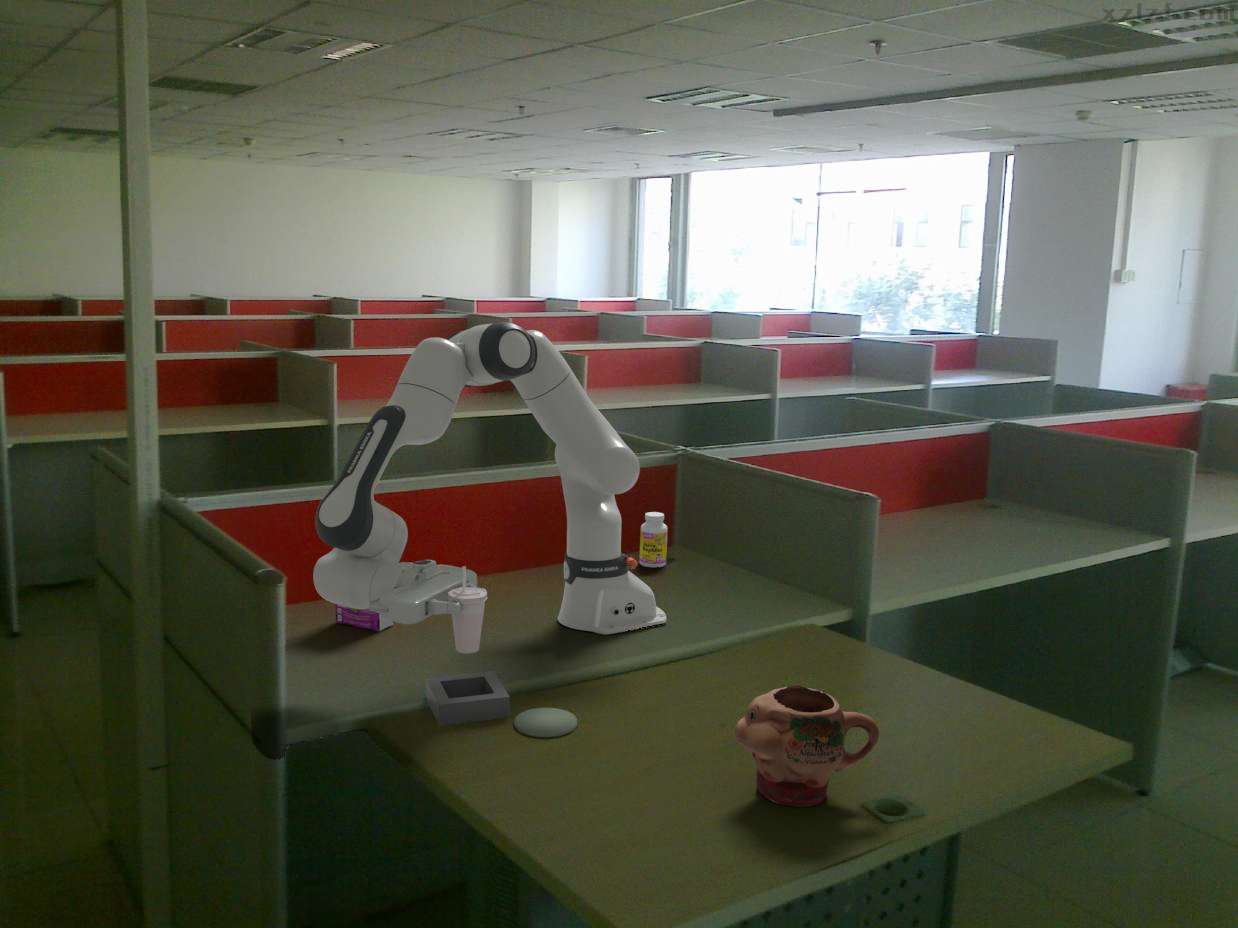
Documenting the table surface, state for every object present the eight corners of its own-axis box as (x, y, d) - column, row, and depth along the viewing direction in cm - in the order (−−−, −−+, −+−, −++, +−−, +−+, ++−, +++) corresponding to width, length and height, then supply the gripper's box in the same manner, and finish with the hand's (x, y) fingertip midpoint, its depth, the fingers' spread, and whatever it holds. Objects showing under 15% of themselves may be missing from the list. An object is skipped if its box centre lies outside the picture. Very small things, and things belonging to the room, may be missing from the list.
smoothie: (449, 642, 177) (448, 561, 174) (488, 642, 177) (488, 561, 175) (446, 656, 171) (445, 572, 168) (486, 656, 171) (486, 572, 168)
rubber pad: (566, 707, 176) (566, 704, 176) (585, 732, 167) (585, 729, 167) (507, 715, 173) (507, 711, 173) (523, 740, 164) (523, 737, 164)
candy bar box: (334, 623, 214) (332, 544, 211) (350, 616, 219) (348, 539, 216) (379, 632, 210) (378, 552, 207) (394, 625, 214) (393, 546, 211)
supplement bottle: (637, 567, 261) (638, 516, 258) (641, 560, 267) (642, 510, 265) (664, 569, 260) (666, 517, 257) (667, 562, 266) (669, 511, 264)
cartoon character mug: (859, 770, 157) (866, 681, 154) (885, 812, 145) (893, 716, 143) (725, 771, 156) (729, 681, 153) (740, 813, 144) (745, 716, 141)
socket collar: (492, 690, 183) (493, 670, 182) (509, 716, 172) (509, 696, 172) (425, 697, 179) (425, 678, 178) (438, 725, 168) (438, 704, 168)
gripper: (361, 588, 167) (436, 600, 162) (433, 556, 186) (503, 567, 181) (362, 626, 169) (437, 640, 163) (433, 591, 187) (502, 603, 182)
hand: (472, 601), depth 172 cm, fingers closed on smoothie, 6 cm apart
